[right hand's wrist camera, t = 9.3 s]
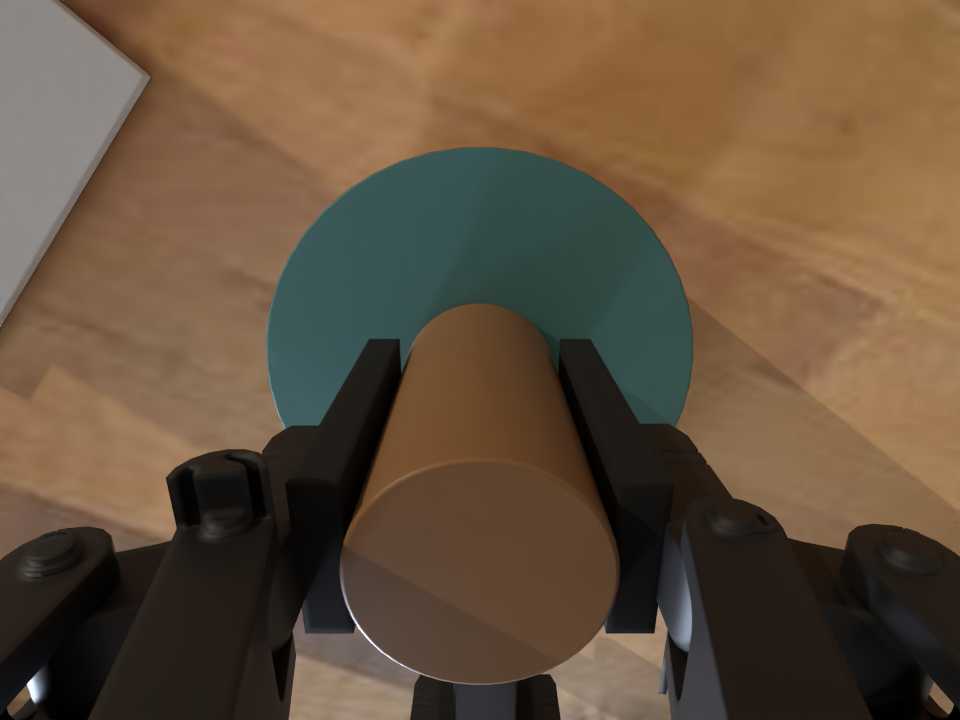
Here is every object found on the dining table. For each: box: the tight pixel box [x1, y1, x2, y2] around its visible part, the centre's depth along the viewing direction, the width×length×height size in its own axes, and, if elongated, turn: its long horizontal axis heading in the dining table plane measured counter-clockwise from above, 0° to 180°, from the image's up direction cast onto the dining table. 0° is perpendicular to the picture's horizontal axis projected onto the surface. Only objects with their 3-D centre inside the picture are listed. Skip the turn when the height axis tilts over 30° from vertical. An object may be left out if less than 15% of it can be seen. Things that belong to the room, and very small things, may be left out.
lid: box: [266, 147, 693, 685], centre depth 12 cm, size 12×12×9 cm
